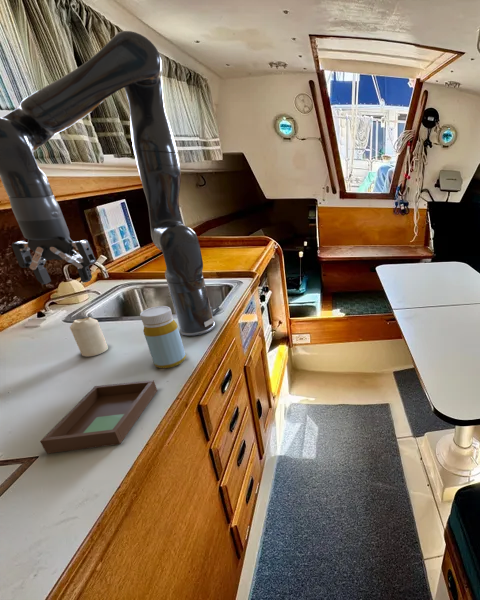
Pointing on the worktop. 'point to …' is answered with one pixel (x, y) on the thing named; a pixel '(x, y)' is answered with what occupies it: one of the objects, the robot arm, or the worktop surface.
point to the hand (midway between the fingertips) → (66, 282)
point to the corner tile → (104, 423)
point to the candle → (88, 336)
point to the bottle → (162, 337)
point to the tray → (99, 404)
